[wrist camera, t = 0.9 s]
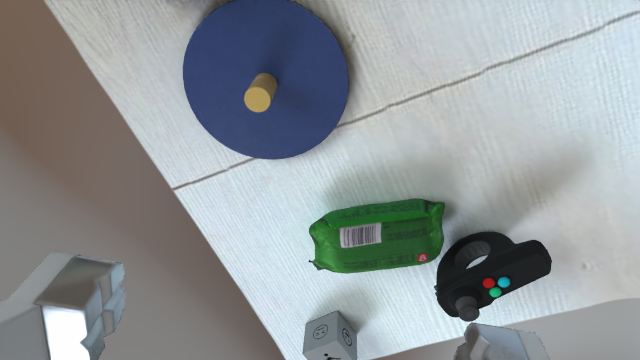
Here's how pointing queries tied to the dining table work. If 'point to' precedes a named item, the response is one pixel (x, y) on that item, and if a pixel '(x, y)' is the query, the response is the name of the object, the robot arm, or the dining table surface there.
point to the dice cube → (330, 339)
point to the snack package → (378, 236)
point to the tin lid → (265, 78)
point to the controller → (486, 272)
